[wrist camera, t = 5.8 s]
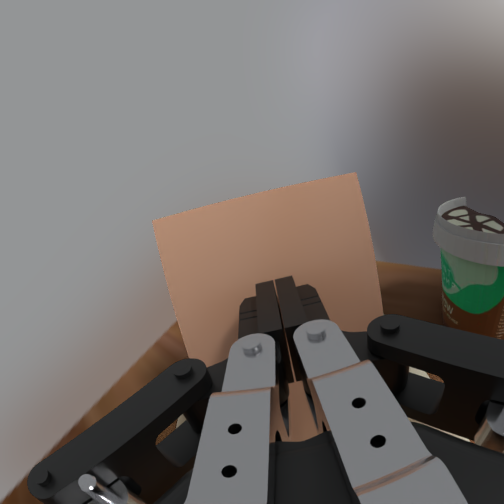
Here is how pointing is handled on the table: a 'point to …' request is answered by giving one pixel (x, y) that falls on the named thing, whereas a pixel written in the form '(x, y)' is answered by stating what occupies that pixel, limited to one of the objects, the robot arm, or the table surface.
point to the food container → (471, 268)
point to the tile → (270, 265)
